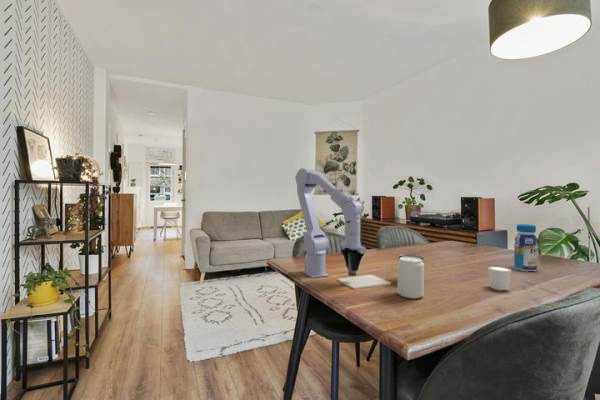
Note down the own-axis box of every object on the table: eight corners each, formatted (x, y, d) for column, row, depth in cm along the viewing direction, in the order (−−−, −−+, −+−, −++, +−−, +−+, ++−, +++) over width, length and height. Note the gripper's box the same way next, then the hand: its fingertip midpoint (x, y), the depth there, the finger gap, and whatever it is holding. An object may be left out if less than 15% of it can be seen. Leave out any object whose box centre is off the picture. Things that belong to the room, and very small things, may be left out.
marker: (346, 274, 111) (346, 253, 111) (353, 273, 112) (353, 252, 112) (350, 276, 108) (351, 254, 108) (358, 275, 109) (358, 253, 109)
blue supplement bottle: (516, 266, 138) (516, 223, 138) (539, 269, 132) (540, 224, 131) (511, 269, 132) (512, 224, 132) (535, 273, 126) (536, 226, 126)
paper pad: (337, 280, 115) (337, 278, 115) (371, 276, 121) (371, 274, 121) (354, 289, 104) (354, 287, 104) (391, 284, 110) (391, 282, 110)
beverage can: (421, 301, 92) (421, 263, 92) (394, 296, 97) (395, 259, 96) (425, 294, 99) (426, 258, 99) (400, 289, 103) (401, 255, 103)
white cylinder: (507, 286, 108) (507, 267, 108) (514, 292, 101) (514, 271, 101) (485, 284, 110) (485, 265, 110) (490, 290, 104) (491, 270, 103)
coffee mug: (425, 285, 108) (425, 258, 108) (400, 284, 110) (400, 257, 109) (419, 277, 119) (419, 252, 119) (396, 276, 121) (396, 251, 121)
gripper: (333, 231, 115) (333, 266, 115) (354, 236, 102) (353, 275, 102) (349, 230, 118) (348, 264, 118) (371, 234, 104) (370, 273, 105)
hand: (352, 269), depth 110 cm, fingers closed on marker, 3 cm apart
